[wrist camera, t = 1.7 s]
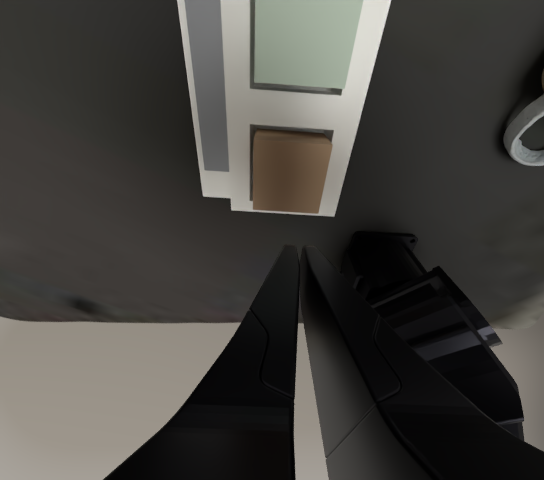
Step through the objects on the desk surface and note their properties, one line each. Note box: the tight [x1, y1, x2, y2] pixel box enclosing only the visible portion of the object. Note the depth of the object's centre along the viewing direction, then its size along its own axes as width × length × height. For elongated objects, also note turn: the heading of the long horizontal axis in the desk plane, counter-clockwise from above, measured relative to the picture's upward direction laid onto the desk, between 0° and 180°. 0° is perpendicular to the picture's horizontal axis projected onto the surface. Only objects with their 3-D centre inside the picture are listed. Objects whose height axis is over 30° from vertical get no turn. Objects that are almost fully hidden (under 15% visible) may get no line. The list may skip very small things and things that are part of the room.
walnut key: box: [253, 128, 333, 214], centre depth 15 cm, size 4×4×3 cm
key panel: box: [177, 0, 391, 217], centre depth 15 cm, size 11×16×4 cm
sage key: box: [254, 0, 363, 89], centre depth 11 cm, size 4×4×3 cm
